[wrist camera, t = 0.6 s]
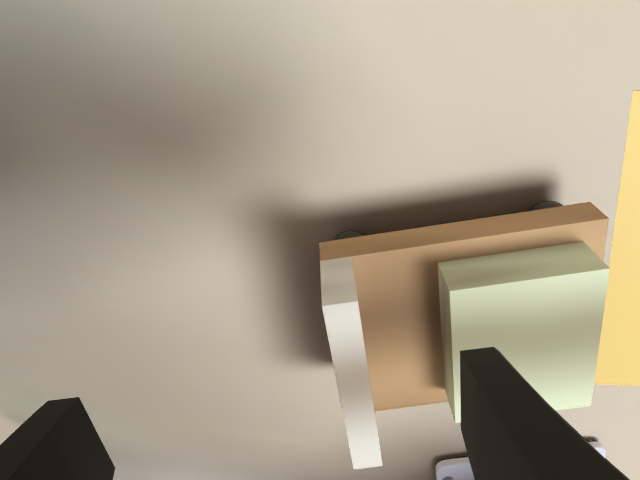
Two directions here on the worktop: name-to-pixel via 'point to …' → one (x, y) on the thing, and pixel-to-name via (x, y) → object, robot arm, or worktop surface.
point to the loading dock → (624, 273)
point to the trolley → (463, 310)
